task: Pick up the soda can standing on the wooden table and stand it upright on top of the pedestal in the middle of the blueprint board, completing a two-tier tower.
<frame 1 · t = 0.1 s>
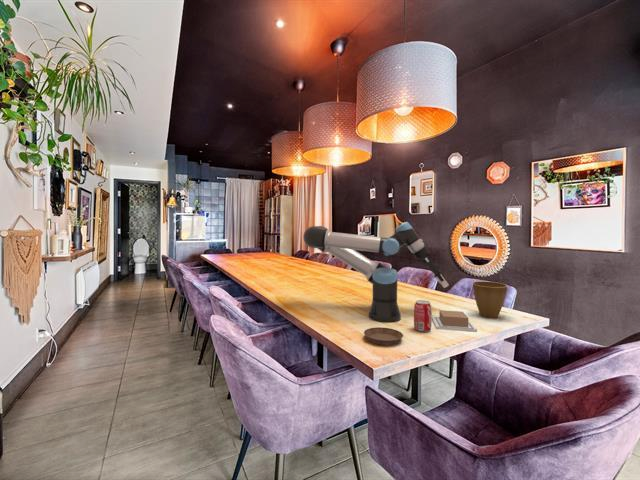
hand: (444, 284, 148), 15 cm above the table, tool tilted 35°, fingers open, 13 cm apart
soda can: (422, 330, 125), on the table
saucer: (383, 340, 114), on the table
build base: (453, 325, 132), on the table
plant pot: (488, 316, 146), on the table
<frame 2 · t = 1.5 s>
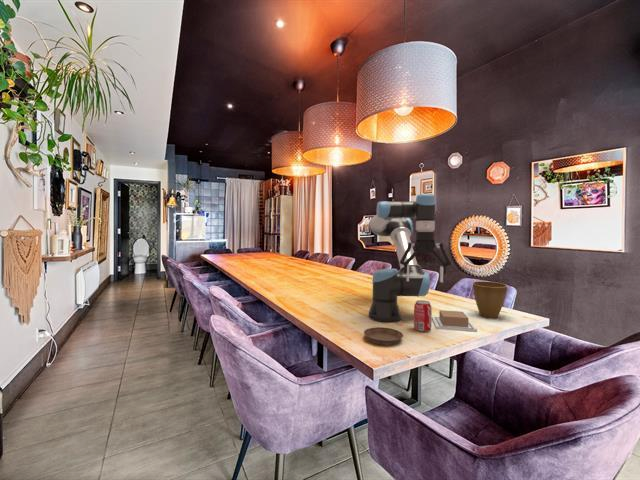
hand: (424, 281, 125), 21 cm above the table, tool pointing down, fingers open, 13 cm apart
nothing on the table moved.
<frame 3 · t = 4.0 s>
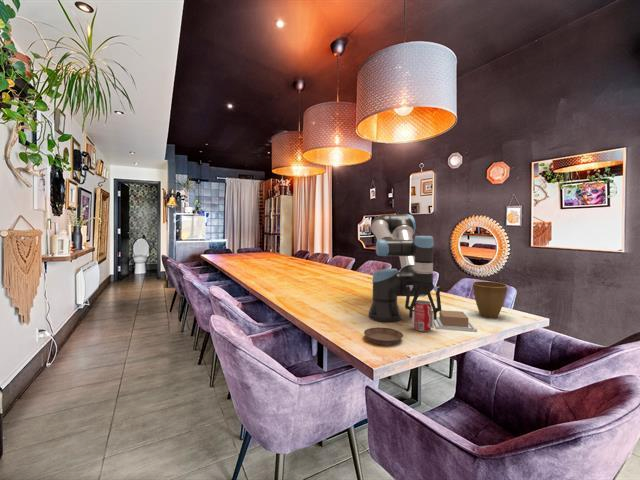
hand: (422, 326, 125), 2 cm above the table, tool pointing down, fingers closed on soda can, 7 cm apart
soda can: (422, 330, 125), on the table, touching gripper
everything else where it was.
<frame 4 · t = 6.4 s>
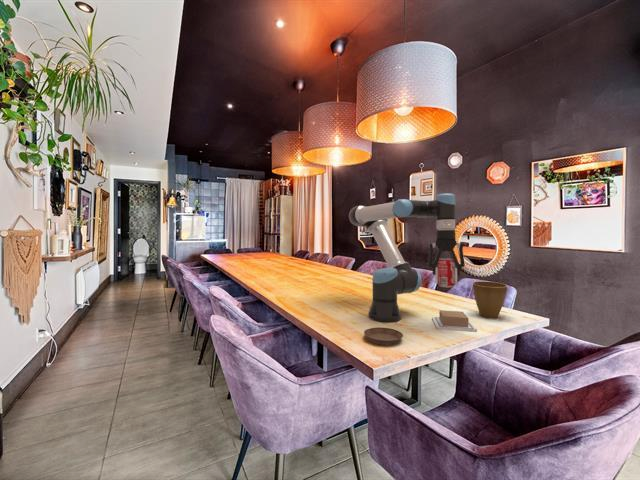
hand: (446, 282, 128), 20 cm above the table, tool pointing down, fingers closed on soda can, 7 cm apart
soda can: (445, 286, 128), point 18 cm above the table, touching gripper
everything else where it was.
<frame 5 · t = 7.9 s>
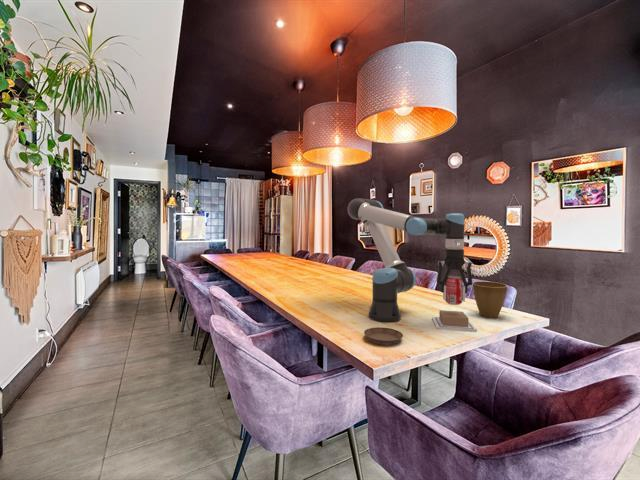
hand: (453, 300, 131), 11 cm above the table, tool pointing down, fingers closed on soda can, 7 cm apart
soda can: (453, 304, 131), point 10 cm above the table, touching gripper
everything else where it was.
when the fingers open (8 cm above the table, at t = 9.0 s): soda can stays where it is, resting on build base.
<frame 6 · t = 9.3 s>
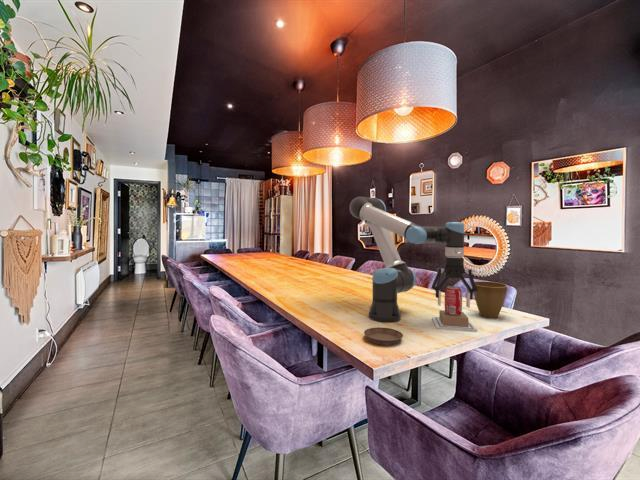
hand: (453, 305, 132), 9 cm above the table, tool pointing down, fingers open, 11 cm apart
soda can: (453, 314, 132), point 5 cm above the table, touching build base
everything else where it was.
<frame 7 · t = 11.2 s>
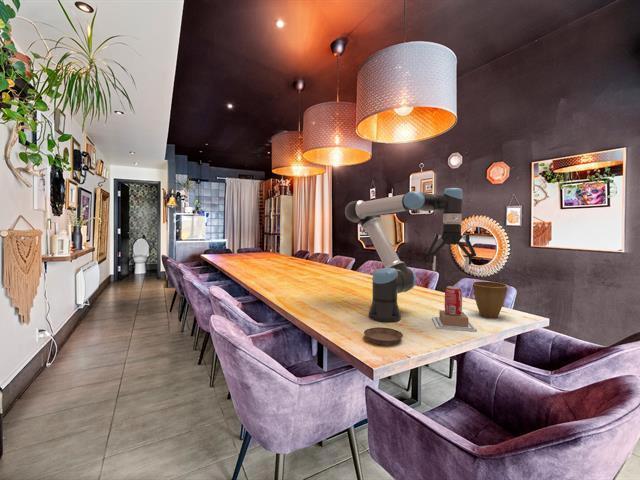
hand: (450, 271, 132), 24 cm above the table, tool pointing down, fingers open, 13 cm apart
nothing on the table moved.
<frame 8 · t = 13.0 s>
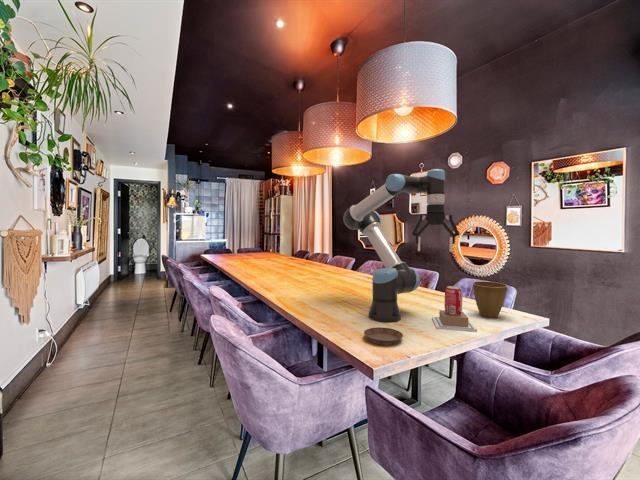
hand: (434, 251, 134), 33 cm above the table, tool pointing down, fingers open, 13 cm apart
nothing on the table moved.
at the end: soda can 0.1 cm off-centre on the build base, point 4.8 cm above the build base's base; soda can tilted 0°; the gripper is holding nothing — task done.
